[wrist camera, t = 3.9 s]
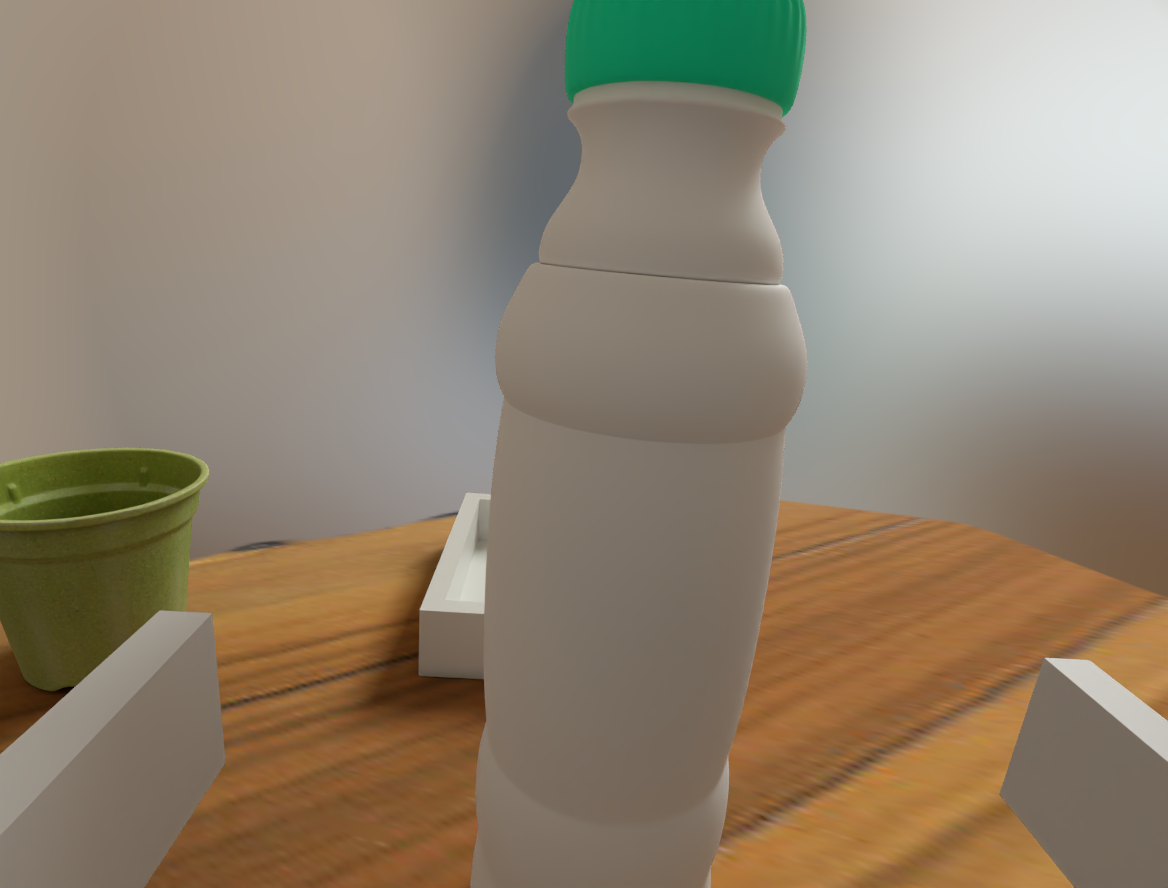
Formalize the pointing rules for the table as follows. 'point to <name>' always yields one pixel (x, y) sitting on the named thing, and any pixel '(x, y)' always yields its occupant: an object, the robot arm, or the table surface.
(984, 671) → the table surface
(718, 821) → the water bottle
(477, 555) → the white tray
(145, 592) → the plant pot
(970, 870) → the table surface
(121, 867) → the robot arm
